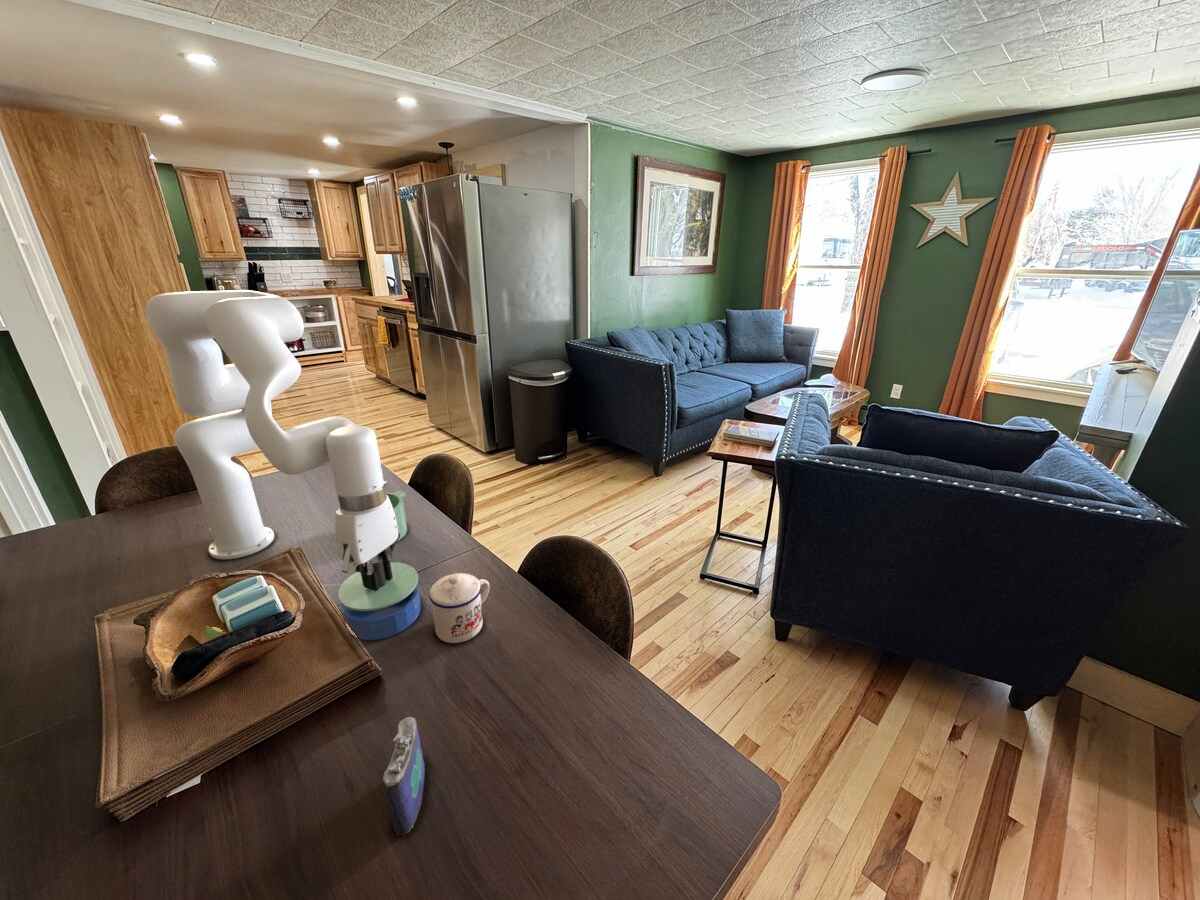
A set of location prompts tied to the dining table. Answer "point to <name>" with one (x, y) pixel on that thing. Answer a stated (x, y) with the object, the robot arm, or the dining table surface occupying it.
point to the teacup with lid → (458, 606)
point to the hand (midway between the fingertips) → (378, 582)
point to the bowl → (384, 618)
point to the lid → (389, 590)
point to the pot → (398, 511)
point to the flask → (405, 777)
